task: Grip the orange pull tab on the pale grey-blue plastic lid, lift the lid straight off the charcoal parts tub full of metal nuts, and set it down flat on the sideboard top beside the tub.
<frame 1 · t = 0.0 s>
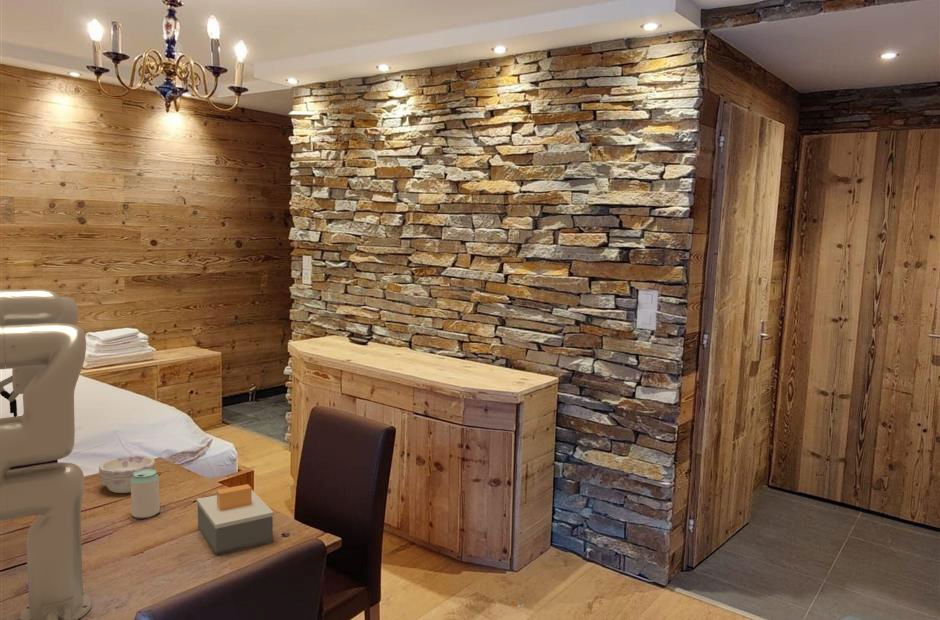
hand: (38, 413, 172), 31 cm above the table, tool pointing down, fingers open, 9 cm apart
can: (145, 515, 187), on the table
parts tub: (234, 534, 177), on the table
lid: (234, 512, 176), point 6 cm above the table, touching parts tub
paper bowls: (128, 488, 206), on the table
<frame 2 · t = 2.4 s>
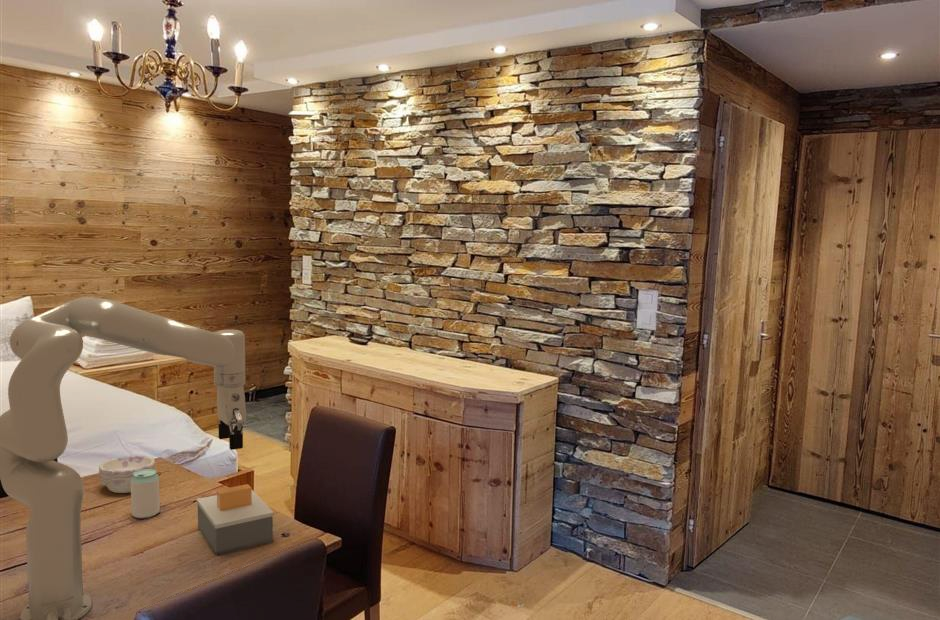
hand: (230, 443, 174), 25 cm above the table, tool pointing down, fingers open, 9 cm apart
nothing on the table moved.
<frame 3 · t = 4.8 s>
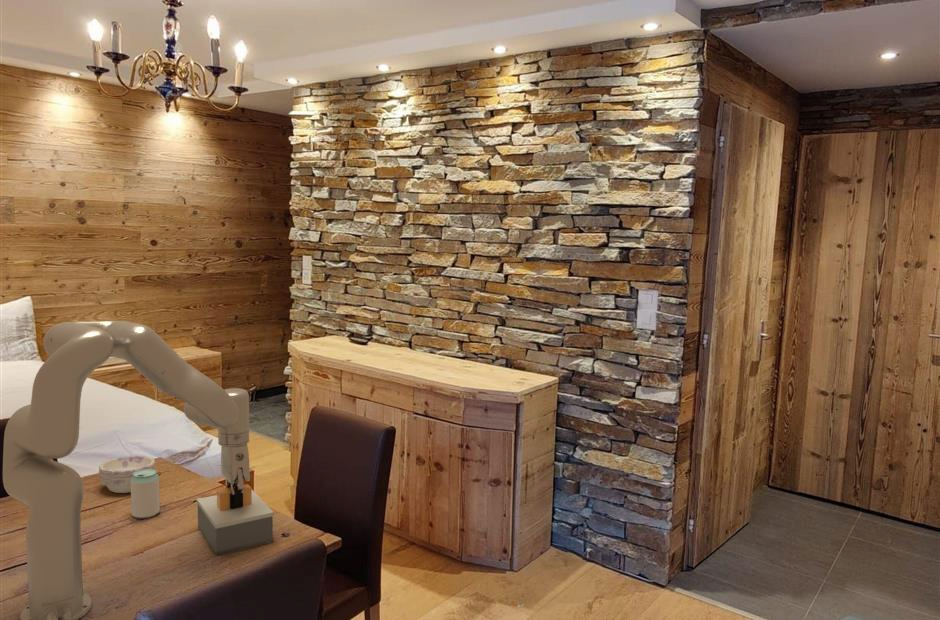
hand: (234, 504, 176), 8 cm above the table, tool pointing down, fingers closed on lid, 3 cm apart
lid: (234, 512, 176), point 6 cm above the table, touching gripper, parts tub
everything else where it was.
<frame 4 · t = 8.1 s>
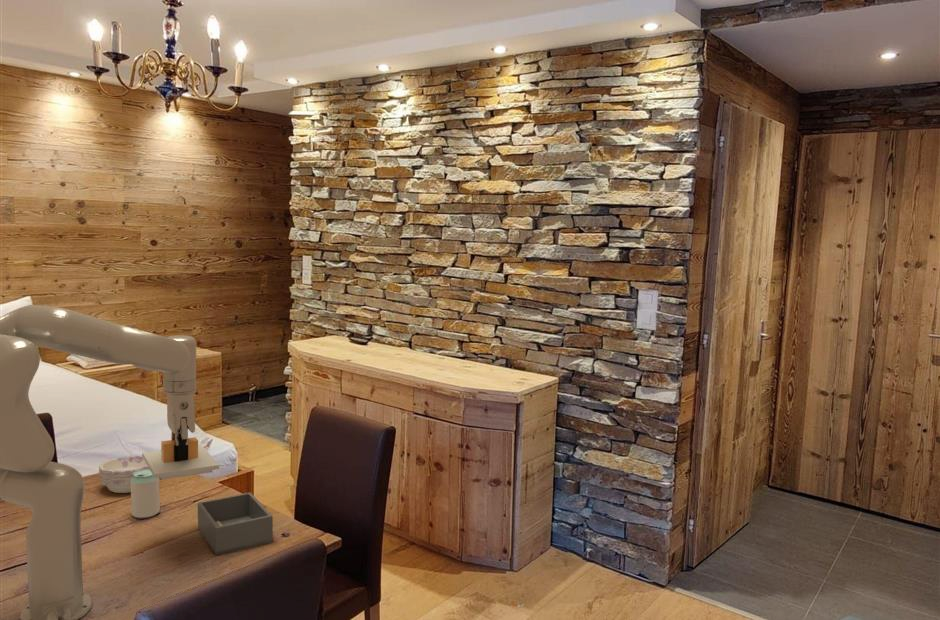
hand: (179, 457, 168), 23 cm above the table, tool pointing down, fingers closed on lid, 3 cm apart
lid: (179, 466, 169), point 20 cm above the table, touching gripper
everything else where it was.
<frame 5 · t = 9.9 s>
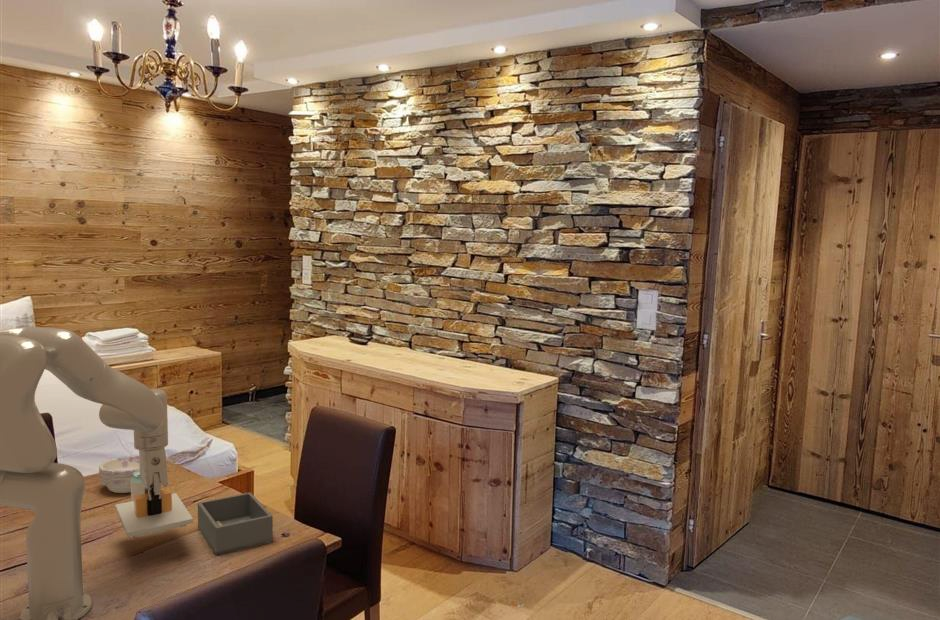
hand: (153, 510, 168), 10 cm above the table, tool pointing down, fingers closed on lid, 3 cm apart
lid: (153, 519, 168), point 7 cm above the table, touching gripper
everything else where it was.
when the fingers open (4 cm above the table, at t = 11.5 s): lid drops 1 cm, on the table.
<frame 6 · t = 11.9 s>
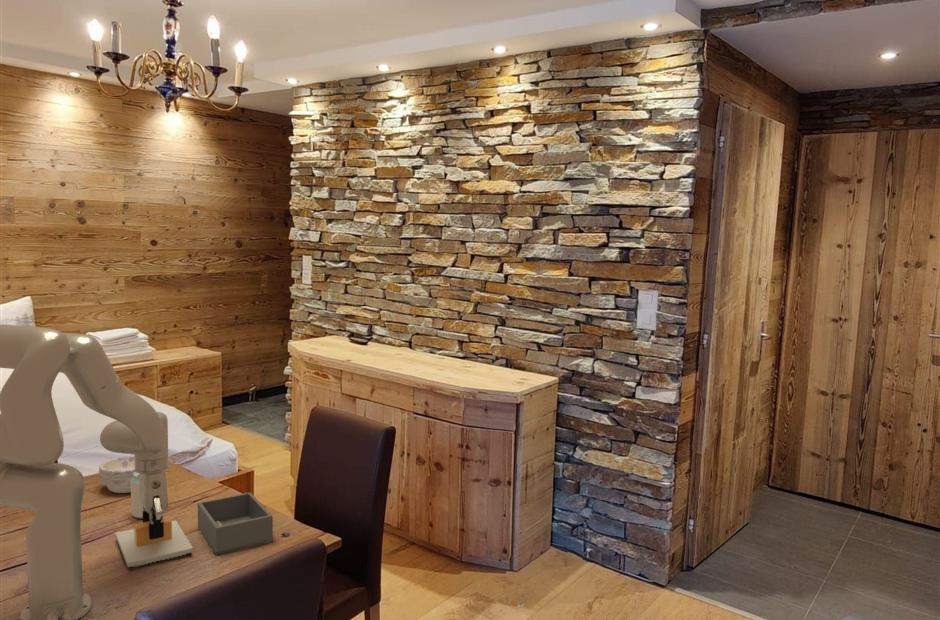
hand: (153, 531, 168), 4 cm above the table, tool pointing down, fingers open, 7 cm apart
lid: (153, 547, 168), on the table
everything else where it was.
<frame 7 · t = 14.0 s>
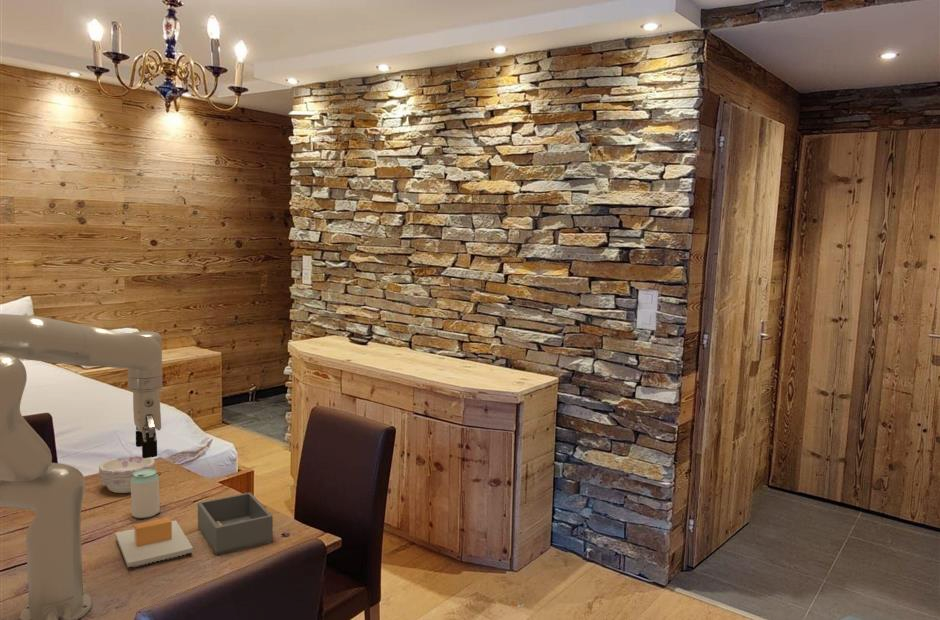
hand: (146, 451, 165), 25 cm above the table, tool pointing down, fingers open, 9 cm apart
nothing on the table moved.
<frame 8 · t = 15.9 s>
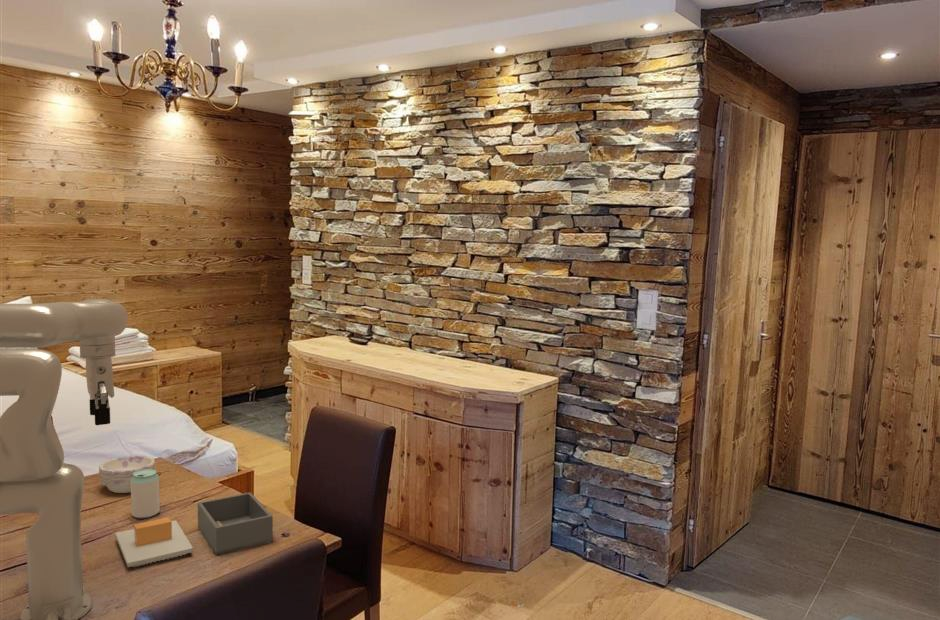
hand: (99, 419, 165), 32 cm above the table, tool pointing down, fingers open, 9 cm apart
nothing on the table moved.
at the end: lid inside the target area (0.0 cm from its centre), on the table; lid touching table; lid tilted 0° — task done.
